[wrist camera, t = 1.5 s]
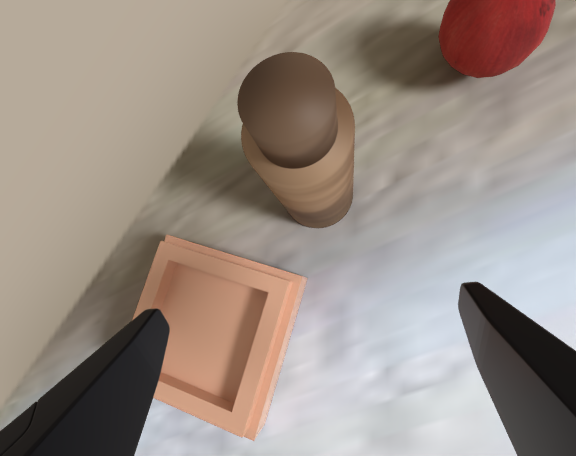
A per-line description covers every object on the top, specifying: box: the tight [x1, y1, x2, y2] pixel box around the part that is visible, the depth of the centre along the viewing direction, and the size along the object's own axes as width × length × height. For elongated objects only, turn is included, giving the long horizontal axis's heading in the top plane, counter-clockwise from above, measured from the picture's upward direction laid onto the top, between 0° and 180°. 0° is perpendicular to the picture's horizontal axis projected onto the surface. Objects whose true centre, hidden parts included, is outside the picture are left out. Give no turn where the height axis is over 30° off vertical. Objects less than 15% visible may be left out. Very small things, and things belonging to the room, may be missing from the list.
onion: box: [438, 0, 555, 78], centre depth 20 cm, size 6×6×8 cm
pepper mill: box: [238, 52, 355, 228], centre depth 18 cm, size 5×5×12 cm
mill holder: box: [132, 235, 308, 441], centre depth 22 cm, size 10×10×4 cm
